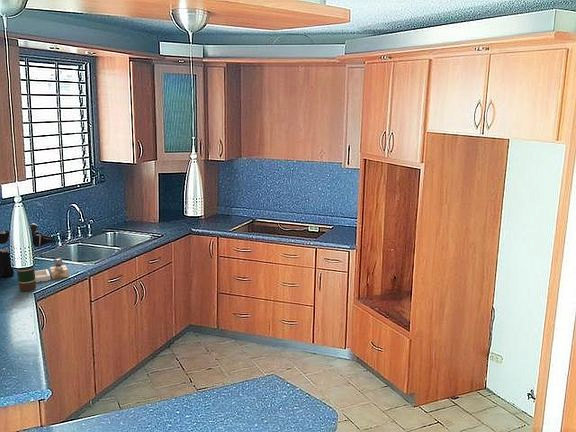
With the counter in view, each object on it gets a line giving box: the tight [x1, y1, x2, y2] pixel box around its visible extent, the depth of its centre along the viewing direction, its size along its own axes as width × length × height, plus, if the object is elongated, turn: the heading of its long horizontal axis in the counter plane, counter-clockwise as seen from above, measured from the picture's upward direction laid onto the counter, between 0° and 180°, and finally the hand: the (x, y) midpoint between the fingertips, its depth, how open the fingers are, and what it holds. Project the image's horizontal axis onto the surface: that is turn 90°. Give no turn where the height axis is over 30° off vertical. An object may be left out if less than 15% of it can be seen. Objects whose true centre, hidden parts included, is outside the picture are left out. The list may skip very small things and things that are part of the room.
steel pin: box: [52, 257, 63, 270], centre depth 309 cm, size 4×4×9 cm
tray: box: [34, 269, 52, 283], centre depth 305 cm, size 11×14×2 cm
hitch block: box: [49, 264, 69, 280], centre depth 310 cm, size 8×10×4 cm
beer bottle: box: [16, 265, 37, 293], centre depth 285 cm, size 8×8×24 cm
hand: (53, 239), depth 319 cm, fingers open, 9 cm apart
